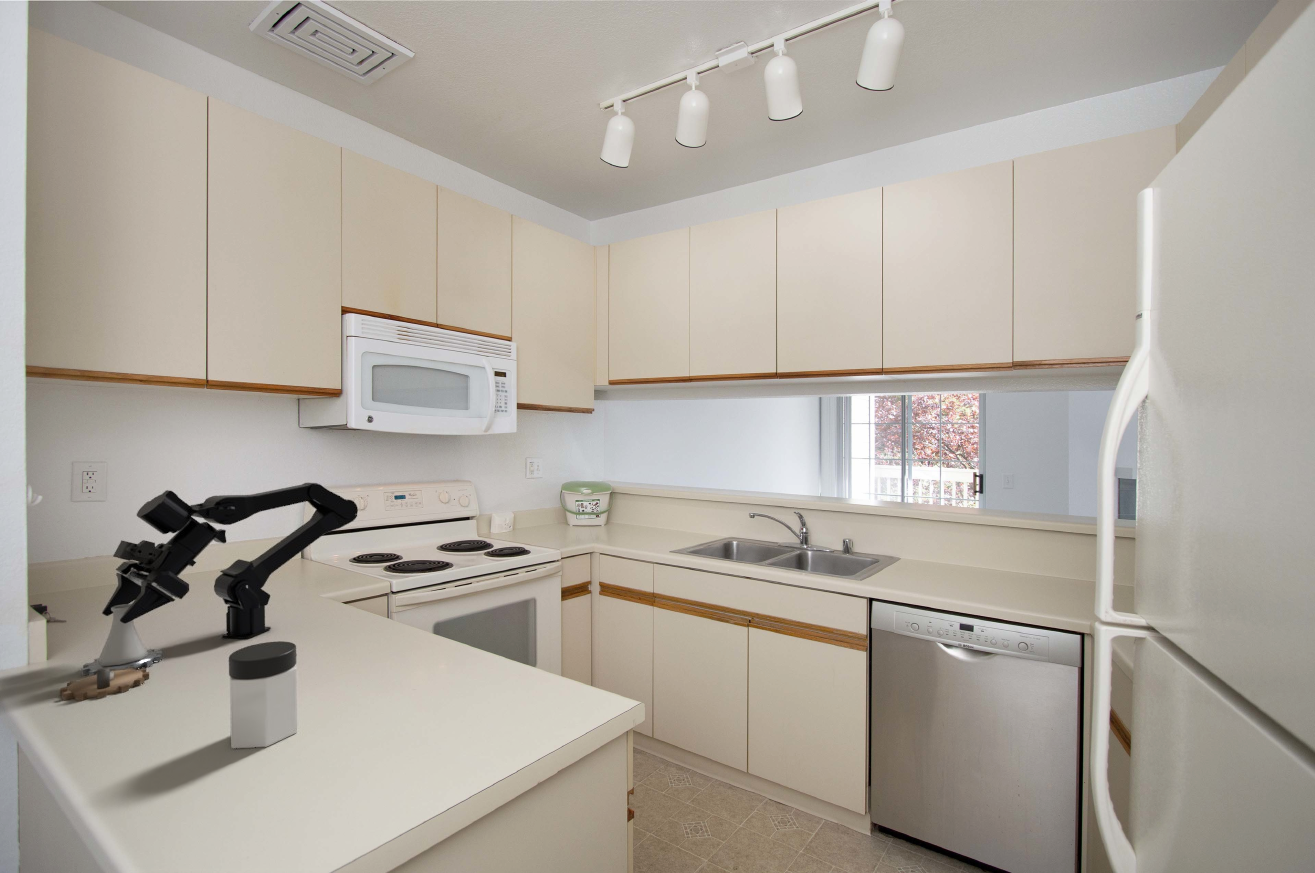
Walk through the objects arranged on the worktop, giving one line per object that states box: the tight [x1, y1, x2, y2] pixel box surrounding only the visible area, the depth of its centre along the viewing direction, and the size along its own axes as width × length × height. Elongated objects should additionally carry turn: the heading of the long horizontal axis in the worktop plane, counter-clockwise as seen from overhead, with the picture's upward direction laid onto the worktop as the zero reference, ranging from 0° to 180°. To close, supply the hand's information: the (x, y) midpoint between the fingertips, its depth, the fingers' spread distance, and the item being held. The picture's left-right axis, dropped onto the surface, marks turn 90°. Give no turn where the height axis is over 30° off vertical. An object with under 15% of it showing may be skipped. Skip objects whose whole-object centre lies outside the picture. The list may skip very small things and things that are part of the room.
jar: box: [228, 640, 299, 750], centre depth 88 cm, size 9×8×12 cm
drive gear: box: [59, 667, 150, 702], centre depth 105 cm, size 11×11×4 cm
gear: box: [81, 648, 163, 677], centre depth 115 cm, size 11×11×1 cm
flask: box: [97, 603, 148, 666], centre depth 115 cm, size 7×7×10 cm
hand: (113, 618), depth 113 cm, fingers open, 8 cm apart
